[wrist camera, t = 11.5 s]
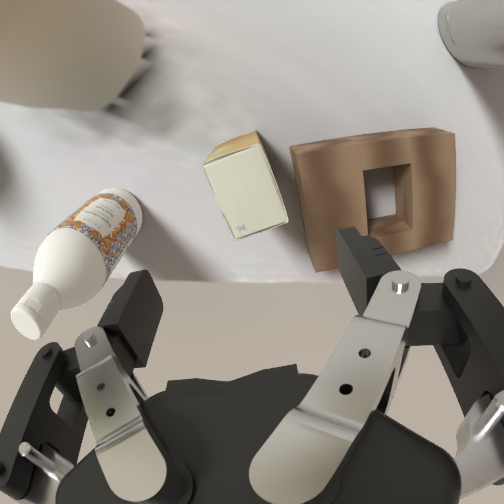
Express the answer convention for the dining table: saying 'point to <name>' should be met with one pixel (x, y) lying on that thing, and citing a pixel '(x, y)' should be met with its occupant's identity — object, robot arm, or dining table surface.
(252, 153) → the skincare box
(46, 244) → the bath foam
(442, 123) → the dining table surface
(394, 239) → the walnut holder block
